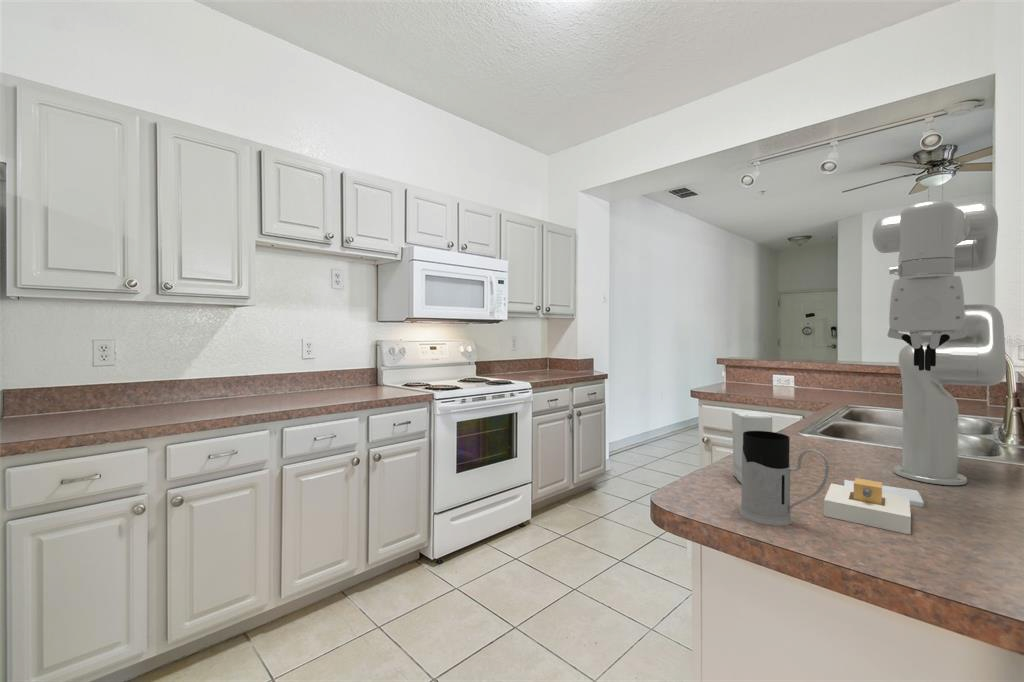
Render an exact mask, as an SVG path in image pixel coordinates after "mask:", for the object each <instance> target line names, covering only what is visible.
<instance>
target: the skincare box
mask: <svg viewBox="0 0 1024 682" xmlns="http://www.w3.org/2000/svg"><path fill="white" fill-rule="evenodd" d="M731 422H732V423H731V424H732V427H731V428H732V459H733V461H732V465H733V470H732V471H733V472H732V473H733V475H734V476H735V477H736V478H737V481H738V482H739V483H740V484H741V485H742V446H743V433H744V432H746V431H767V432H773V416H771V415H768V414H766V413H764V412H761V411H735V410H734V411H731ZM734 476H733V477H734ZM735 477H734V478H735Z"/></svg>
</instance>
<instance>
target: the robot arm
mask: <svg viewBox="0 0 1024 682" xmlns="http://www.w3.org/2000/svg"><path fill="white" fill-rule="evenodd" d="M998 231H999V217H998V213H997V210H996V208H995V207H994V206H993V205H992V204H991V203H989V202H987V201H975V202H974V201H972V202H965V203H960V204H953V203H952V202H950V201H948V200H932V201H925V202H918V203H914V204H911V205H908V206H906V207H905V208H904V209H903V210H902V211H901V213H900V214H893V215H887V216H881V217H880V218H878V219H877V221H876V222H875V224H874V226H873V229H872V243H873V245H874V248H875V249H876V250H877V251H878V252H879V253H881V254H890V253H891V254H892V253H893V254H894V253H899V254H898V264H897V266H894V267H889V275H895V276H896V275H897V276H898V279H895V280H893V284H892V288H891V294H890V300H889V301H890V304H889V314H888V315H889V317H888V318H889V321H888V324H889V329H888V332H887V337H888V338H889V339H890V338H891V339H895V340H896V339H897V340H901V341H904V342H905V343H906V344H907V345H905V346H904V347H903V348H901V350H900V352H899V353H898V366H899V371H900V377H901V382H902V383H901V385H902V438H901V439H902V443H901V444H902V445H901V447H902V449H901V450H902V451H901V452H902V453H901V456H902V457H901V461H902V462H901V464H898V465H894V466H893V473H895V474H896V475H898V476H900V477H902V478H906V479H908V480H909V479H910V480H913V481H917V482H922V483H927V484H933V485H943V486H963V485H966V484H967V483H968V478H967V476H965V475H963V474H961V473H959V472H958V457H959V456H958V454H959V453H958V451H959V450H958V448H959V444H958V440H959V404H958V402H957V400H956V398H955V397H954V396H953V395H952V394H951V393H950V392H948V391H947V390H946V389H945V388H944V387H943V385H957V386H959V385H960V386H974V387H975V386H976V387H977V386H981V387H991V386H995V385H998V384H1000V383H1002V382H1003V380H1004V379H1005V376H1006V371H1007V360H1006V359H1007V358H1006V343H1005V342H1006V340H1005V325H1004V320H1003V315H1002V312H1001V311H1000V310H999V309H998V308H997V307H996V306H993V305H989V304H979V303H978V304H965V296H964V295H965V294H964V287H963V282H962V278H961V276H960V275H955V273H963V272H974V271H975V272H976V271H982V270H986V269H988V268H990V267H991V266H992V265H993V263H994V262H995V259H996V256H997V244H998V243H997V242H998ZM901 332H902V333H901ZM907 333H909V334H907Z"/></svg>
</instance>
